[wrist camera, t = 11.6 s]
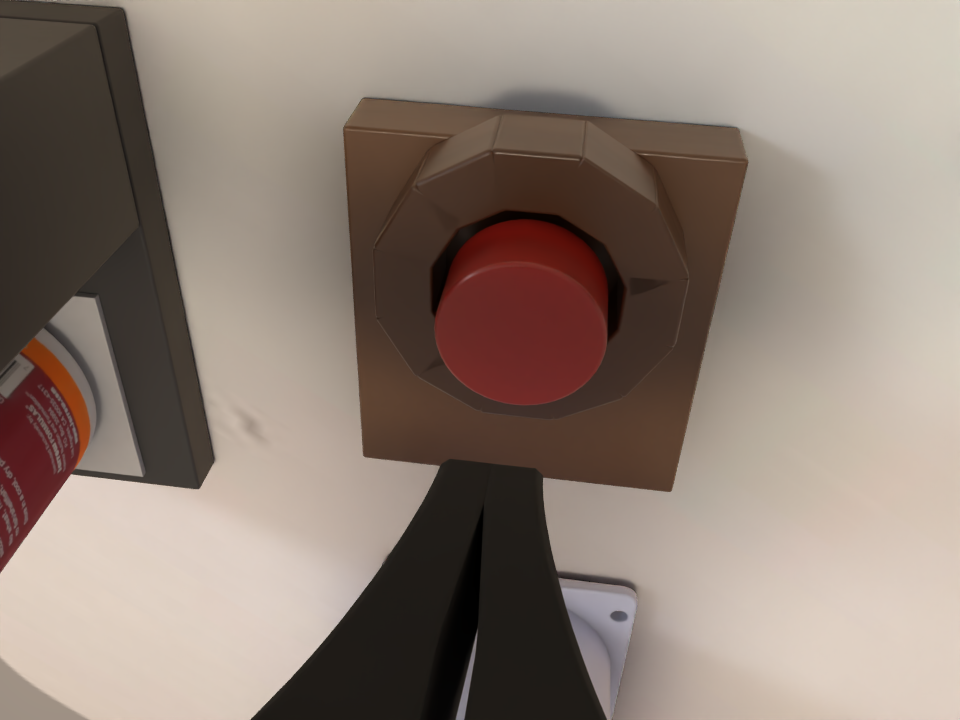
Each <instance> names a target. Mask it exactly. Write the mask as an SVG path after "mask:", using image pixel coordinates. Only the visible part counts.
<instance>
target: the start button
mask: <svg viewBox="0 0 960 720" xmlns="http://www.w3.org/2000/svg"><path fill="white" fill-rule="evenodd" d="M434 332H435V340H436V344H437V348H438V350H439V353H440V355H441V358H442V359H443V361H444V363H445V365H446V366H447V368H448V369H449V370H450V372H451V373H452V374H453V375H454V376H455V377H456V378H457V379H458V380H459V381H460V382H461V383H463V384H464V385H465V386H466V387H468V388H469V389H471V390H472V391H474V392H476V393H478V394H480V395H482V396H484V397H486V398H489V399H492V400H494V401H498V402H502V403H507V404H513V405H538V404H545V403H549V402H553V401H556V400H559V399H561V398H564V397H566V396H568V395H570V394H572V393H574V392H575V391H577V390H578V389H579V388H581V387H582V386H583V385H584V384H586V383H587V382H588V381H589V380H590V379H591V377H592V376H593V375H594V374H595V372H596V371H597V370H598V368H599V366H600V365H601V363H602V360H603V358H604V355H605V351H606V347H607V336H608V282H607V278H606V274H605V271H604V268H603V266H602V264H601V262H600V260H599V259H598V257H597V255H596V254H595V253H594V251H593V250H592V249H591V248H590V247H589V246H588V245H587V244H586V243H585V242H584V241H583V240H582V239H581V238H579V237H578V236H576V235H575V234H574V233H572V232H570V231H568V230H567V229H565V228H563V227H560V226H558V225H555V224H552V223H549V222H545V221H540V220H533V219H518V220H509V221H504V222H500V223H497V224H494V225H491V226H489V227H487V228H485V229H483V230H481V231H479V232H478V233H476V234H475V235H474V236H472V237H471V238H470V239H469V240H468V241H466V242H465V243H464V245H463V246H462V247H461V248H460V249H459V251H458V252H457V254H456V256H455V257H454V259H453V262H452V264H451V266H450V269H449V273H448V276H447V279H446V283H445V286H444V289H443V292H442V296H441V299H440V302H439V305H438V309H437V313H436V317H435V324H434Z"/></svg>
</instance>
